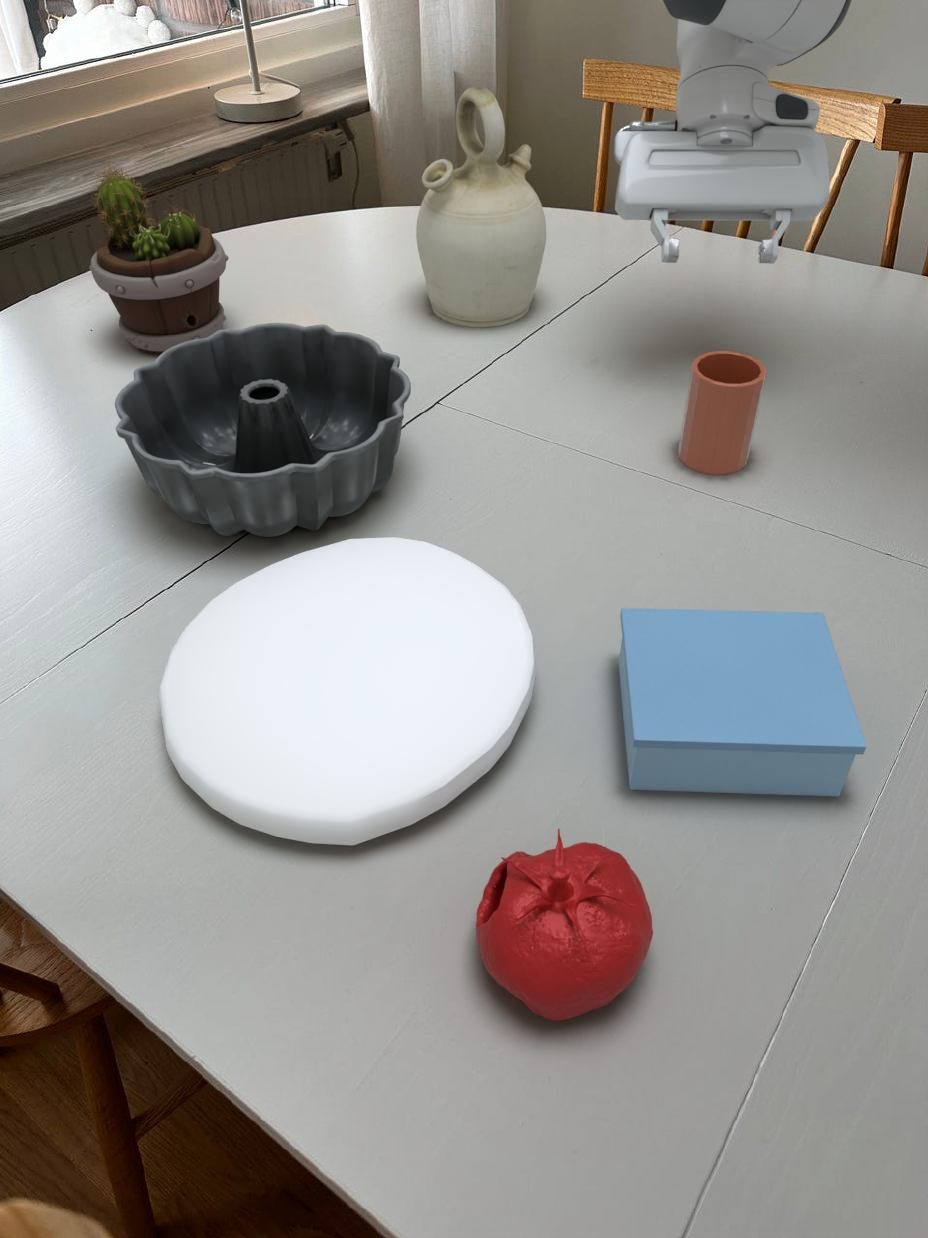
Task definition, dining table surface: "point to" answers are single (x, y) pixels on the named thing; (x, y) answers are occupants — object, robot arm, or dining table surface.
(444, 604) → the plate
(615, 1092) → the dining table surface
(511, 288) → the jug
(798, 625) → the container
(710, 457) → the cup
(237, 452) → the bundt pan
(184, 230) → the flowerpot
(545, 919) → the pomegranate
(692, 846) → the dining table surface
